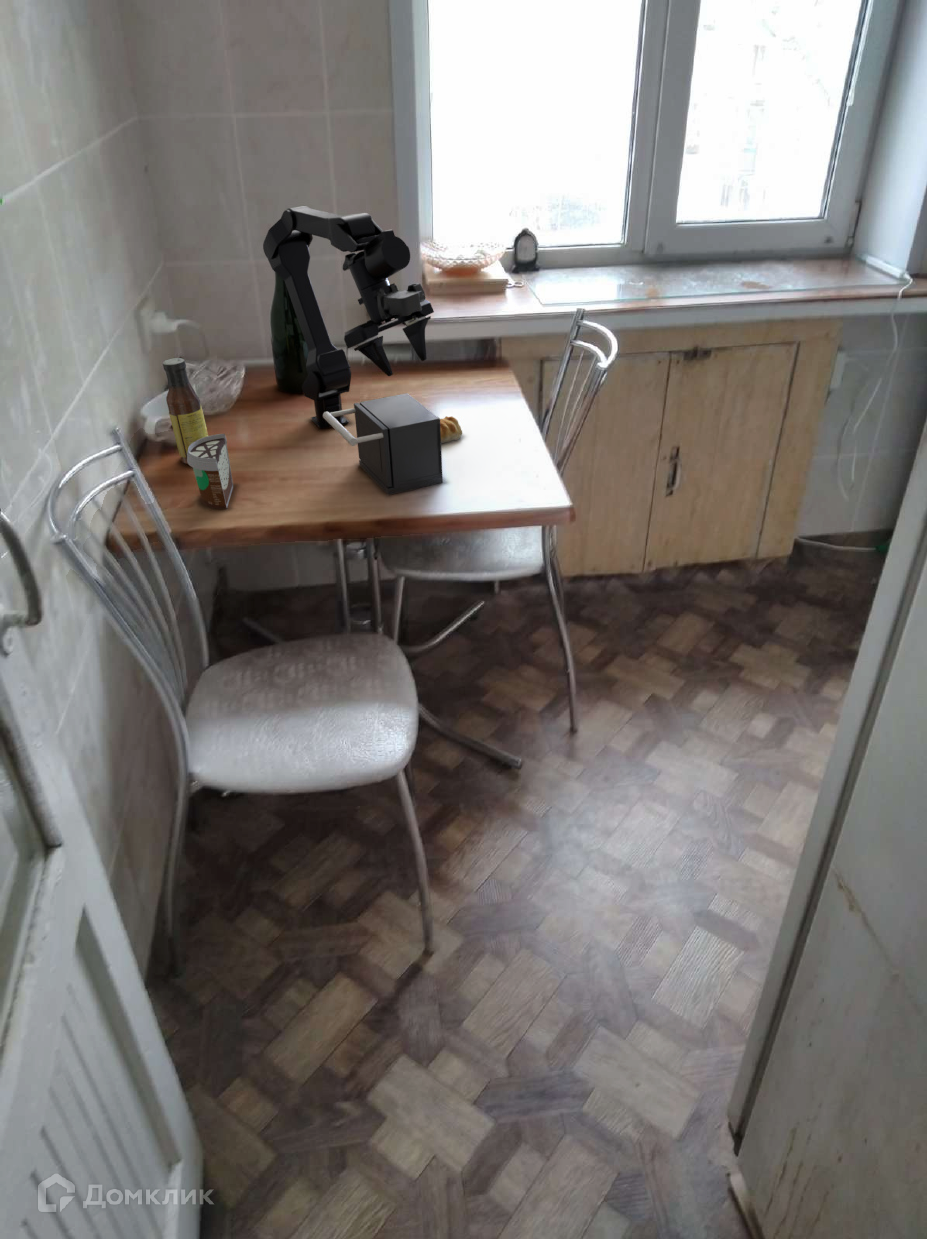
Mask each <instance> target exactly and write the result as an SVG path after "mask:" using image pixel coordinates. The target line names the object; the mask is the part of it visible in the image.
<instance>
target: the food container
mask: <svg viewBox="0 0 927 1239" xmlns="http://www.w3.org/2000/svg"><path fill="white" fill-rule="evenodd" d="M187 463H188V464H187V465H189V466H190V467H191V468H192V470H193V474H194V477H195V480H196V484H197V487H198V490H199V494H200V497H201V502H202V504H203V505H204V506H207V507H209V508H212V509H220V510H222V509H224V510H225V509H228V506H229V502H230V499H231V495H232V492H233V490H234V482H233V481H234V480H233V476H232V468H231V464H230V456H229V450H228V441H227V436H226V433H219V434H212V435H208V436H207V437H204V438H201V439H199V440H197V441H195V442H193V443H192V444H191V445H190V446H189V448H188V452H187Z"/></svg>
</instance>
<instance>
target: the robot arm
mask: <svg viewBox="0 0 927 1239" xmlns="http://www.w3.org/2000/svg"><path fill="white" fill-rule="evenodd" d="M313 236H316V237H319V238H323V239H326V240H328V241H330V245H331V246H332V247H334V248H335V249H337V250H339V251H340V252H344V253H346V252H349V253H347V254H344V262H343V264H342V271H344V272H346V271H348V270H349V271H350V274H351V277H352V279H353V281H354V284H355V286H356V288H357V290H358V293H359V295H360V298H358V299H357V302H358V304H359V306H362V305H364V307H365V310H366V312H367V314H368V316H369V319H368V320H367V321H366V322H364V323H361V324H359V325H357V326H355V327H353V328H350V329H349V330H347V331H345V332H344V336H343V341H344V343H345V345H346V348H347V349H351V348H353V350H354V352H356V351H358V352H359V353H360V354H362V355H364V356H365V357H366V358H367V359H369V360H370V361H371V362H372V363H373V364H374V365H375V366H376V367H377V368H379V369H380V370H381V371H382V372H383V373H384V374H385V375H386V376H387V377H391V376H393V375H394V373H393V370H392V366H391V364H390V362H389V358H388V356H387V354H386V352H385V349H384V346H383V343H384V335H381V336H379V333H381V332H384V331H387V330H389V329H392V328H394V327H396V326H399V325H403V326H404V327H403V328H402V331H403V332H404V335H405V336H406V338H407V340H408V341H409V344H410V346H412V348H413V351H414V352H415V353H416V355H417V357H418V358H419V359H420V361H421V362H425V361H427V346H426V344H427V343H426V328H427V325H428V322H429V321H430V320H431V319H432V316H431V314H433V313H435V311H434V308H433V306H432V303H431V302H430V301H429V300H427V299H426V293H425V290H424V288H423V286H422V284H421V283H420V282H419V283H418V282H414V283H412V284H408V286H407V289H405V290H399V288H398V286H397V284H395V283H394V282H393V283H390V281H389V279H388V278H390V277H392V276H393V275H395V274H397V273H398V272H400V271H402V270H403V269H405V268H407V267H408V266H409V264H410V261H411V251H410V247H409V246H408V245H407V244H406V242H405V241H404V240H403V239H402V238H400V237H399V236H396V234H395V232H394V229H388V230H387V229H386V230H384V229H382V228H381V227H380V226H379V225H378V224H377V223H376V222H375V221H374V219H373V217H372V215H371V214H370V213H367V212H361V213H360V212H359V213H351V214H343V215H340V214H336V213H331V212H327V211H323V210H318V209H315V208H311V207H309V206H306V205H302V206H301V205H300V206H295V207H289V208H288V207H287V209H286V210H284V211H283V212H282V214H281V217H280V219H278V220H277V221H276V222H275V223H274V224H273V225H272V226H271V227H269V229H268V231H267V233H266V235H265V238H264V240H263V243H262V250H263V253H264V255H265V257H266V258H267V261H268V263H269V265H270V268H271V270H273V272H274V271H275V272H276V273H277V274H278V275H279V276H280V277H281V278H282V279H283V280H284V281H285V283H286V286H287V289H288V292H289V295H290V298H291V301H292V304H293V307H294V309H295V312H296V315H297V318H298V321H299V324H300V327H301V330H302V333H303V336H304V338H305V341H306V344H307V347H308V350H309V354H308V359H307V364H306V368H307V372H308V377H307V378H306V380H305V382H304V383H303V385H302V390H303V393H302V394H303V396H304V397H305V398H307V399H309V400H311V401H313V403H314V412H315V416H311V417H310V419H311V421H312V422H313V423H314V424H315V425H316V426H317V427H318V428H319V430H320V429H321V430H322V429H328V428H333V427H332V426H331V425H330V424H329V423H328V422H327V421H326V420H325V419H324V418H323V413H324V412H329V413H331V412H337V411H342V410H343V404H342V396H341V395H342V394H344V393H349V392H350V389H351V380H352V371H351V366H350V364H349V361H348V358H347V355H346V352H345V351H344V349H343V348H339V349H338V348H337V347H336V346H335V345H334V344H333V343H332V341H331V338H330V334H329V332H328V329H327V326H326V323H325V320H324V317H323V314H322V312H321V309H320V305H319V302H318V299H317V297H316V296H317V295H316V294H315V291H314V287H313V284H312V281H311V279H310V276H309V273H308V272H309V266H310V262H311V254H310V250H309V248H310V246H311V243H312V242H313V240H314V237H313ZM356 252H357V253H356ZM355 346H356V347H355ZM354 347H355V348H354ZM334 418H335V419H336V420H337V421H338V422H339V423H340V424H341V425H342V426H343V425H348V424H350V421H349V419H348V418H346V417H345V415H342V416H337V417H334Z"/></svg>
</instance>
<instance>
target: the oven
mask: <svg viewBox="0 0 927 1239" xmlns="http://www.w3.org/2000/svg"><path fill="white" fill-rule="evenodd" d="M359 404H360V405H361V406H362V407H363V408H365V409H366V410H367V411H368V412H369V413H370V414H371V415H372V416H374V417H375V418H376V419H377V420H378V421H379V422H380V423H382V424H383V425H384V426H385V427H386V428H387V429H388V440H389V453H390V466H391V479H392V486H391V487H387V486H386V485H385V484H384V483H383V482H382V481H381V480H380V479H379V478H378V477H377V476H376V475H375V474H374V473H373V472H372V471H371V470H370V469H369V468H368V467H367V466H366V465H365V464H364V463H363V462H362V461H361V460H360V459H358V464H359V466H360V468H361V469H362V470H363V471H364V472H365V473H366V474H367V475H368V476H369V477H370V478H371V479H372V480H373V481H374V482H375V483H376V485H378V486H379V487H380V488H381V489H382V490H383V492H385V493H386V494H387V495H388V496H392V495H395V494H399V493H403V492H408V491H411V490H417V489H421V488H425V487H430V486H434V485H439V484H443V483H444V478H443V458H442V456H443V455H442V443H441V431H440V419H441V418H440V417H439V416H437V415H436V414H435V413H434V412H432V411H431V410H430V409H428V408H427V407H426V406H425V405H423V404H422V403H421V402H420V401H418V400H417V399H416V398H414V397H413V396H412V395H410V394H409V393H407V392H406V393H401V394H397V395H389V396H387V397H386V396H385V397H379V398H374V399H370V400H365V401H364V400H363V401H359Z"/></svg>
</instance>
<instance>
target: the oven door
mask: <svg viewBox="0 0 927 1239" xmlns="http://www.w3.org/2000/svg"><path fill="white" fill-rule="evenodd" d="M352 414H354V421H355V430H356V437H355V436H354V435H353V434H352V433H351V432H350V431H349V430H348V429H347V428H346V427H344V426H343V425H341V424H340V423H339V422H338V421H337V420H336V419H335V418H334V417H337V416H342V415H343V416H346V415H347V416H348V415H352ZM323 418H324V419H325V420H326V421H327V422H328V423H329V424H330V425H331V426H332V427H331V428H333V429H334V430H335V431H336V432H337V433H338V434H339V435H340V436H341V437H342V438H343V439H344V440H345V441H346V442H347V443H348V444H349V445H350V446H351V447H356V445H357V452H358V460H361V461H362V462H363V463H364V464H365V465H366V466H367V467H368V468H369V469H370V470H371V471H372V472H373V473H374V474H375V475H376V476H377V477H378V478H379V479H380V480H381V481H382V482H383V483H384V484H385V485H386V486H387V487H391V486H392V479H391V466H390V453H389V440H388V429H387V428H386V427H385V426H384V425H383V424H382V423H380V422H379V421H378V420H377V419H376V418H375V417H374V416H372V415H371V414H370V413H369V412H368V411H367V410H366V409H365V408H363V407H362V406H361V405H360V402H355V403H353V408H348V409H342V411H337V412H331V413H329V412H324V413H323Z"/></svg>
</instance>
